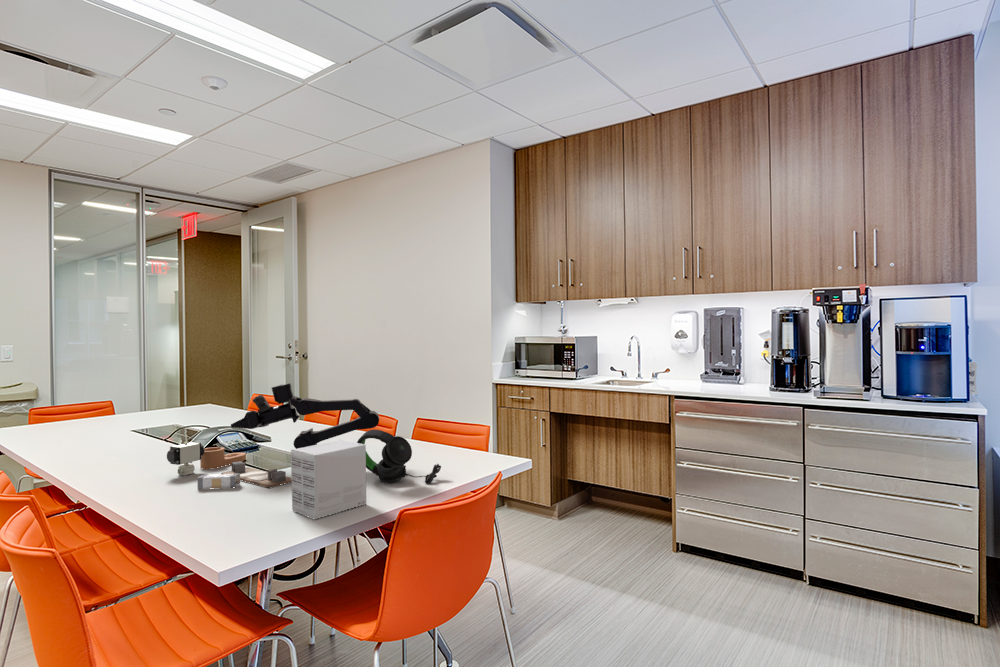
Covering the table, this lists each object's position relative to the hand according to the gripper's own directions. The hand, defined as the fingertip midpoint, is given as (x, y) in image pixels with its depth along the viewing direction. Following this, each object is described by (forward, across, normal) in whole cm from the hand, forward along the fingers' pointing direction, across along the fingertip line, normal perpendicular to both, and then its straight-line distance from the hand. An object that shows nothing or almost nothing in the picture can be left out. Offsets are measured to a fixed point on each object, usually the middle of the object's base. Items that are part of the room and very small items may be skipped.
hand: (234, 425), depth 200 cm
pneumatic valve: (+22, -6, +13) cm, 26 cm away
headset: (-52, +21, +34) cm, 66 cm away
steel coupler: (+5, +16, +19) cm, 25 cm away
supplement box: (-33, +46, +33) cm, 65 cm away
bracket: (+13, -20, +13) cm, 27 cm away
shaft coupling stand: (-5, +7, +21) cm, 22 cm away
